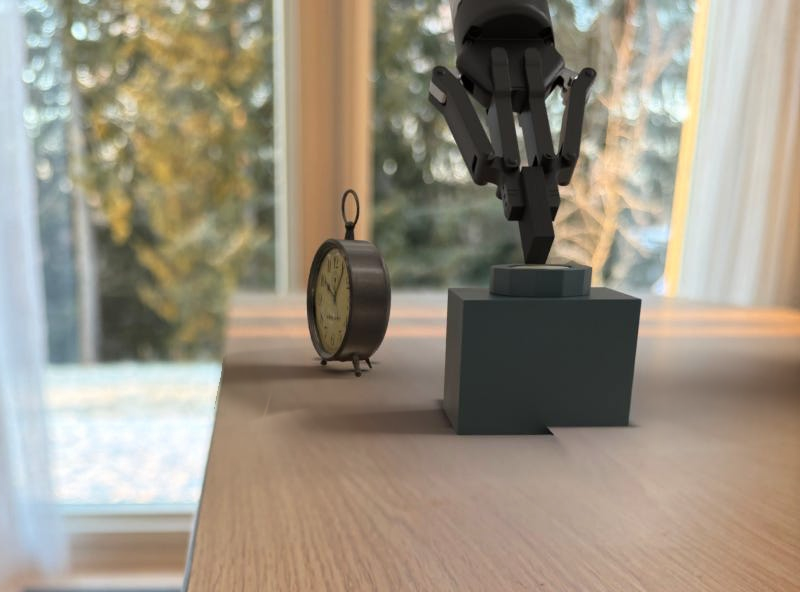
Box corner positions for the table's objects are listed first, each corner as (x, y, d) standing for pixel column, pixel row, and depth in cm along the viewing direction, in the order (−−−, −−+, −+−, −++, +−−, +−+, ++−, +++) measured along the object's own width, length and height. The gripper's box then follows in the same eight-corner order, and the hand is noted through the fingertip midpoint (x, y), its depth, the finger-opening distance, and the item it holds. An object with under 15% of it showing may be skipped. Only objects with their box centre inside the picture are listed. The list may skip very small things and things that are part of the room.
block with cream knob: (594, 408, 84) (608, 261, 79) (627, 435, 74) (645, 270, 70) (443, 409, 84) (448, 262, 79) (457, 436, 74) (464, 271, 70)
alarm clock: (303, 365, 106) (302, 189, 100) (353, 362, 108) (354, 189, 101) (346, 381, 97) (347, 188, 90) (399, 377, 98) (404, 188, 92)
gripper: (567, 59, 87) (613, 286, 79) (412, 58, 86) (440, 287, 78) (594, -28, 80) (647, 210, 72) (425, -30, 80) (457, 210, 71)
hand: (539, 250), depth 75 cm, fingers closed
